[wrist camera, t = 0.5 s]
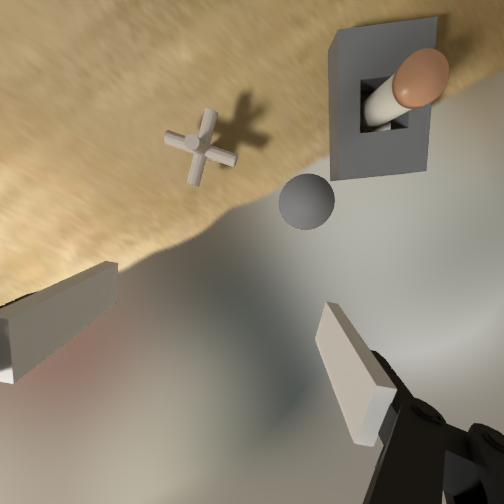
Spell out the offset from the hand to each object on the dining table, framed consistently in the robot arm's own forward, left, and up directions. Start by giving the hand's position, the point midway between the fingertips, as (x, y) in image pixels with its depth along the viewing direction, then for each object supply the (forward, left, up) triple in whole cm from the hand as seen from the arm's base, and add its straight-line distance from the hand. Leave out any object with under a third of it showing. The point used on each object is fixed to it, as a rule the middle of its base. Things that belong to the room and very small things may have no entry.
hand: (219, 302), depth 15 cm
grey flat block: (-16, +21, -27) cm, 37 cm away
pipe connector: (-13, -4, -27) cm, 30 cm away
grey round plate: (-4, +11, -27) cm, 29 cm away
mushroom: (-16, +21, -27) cm, 37 cm away
